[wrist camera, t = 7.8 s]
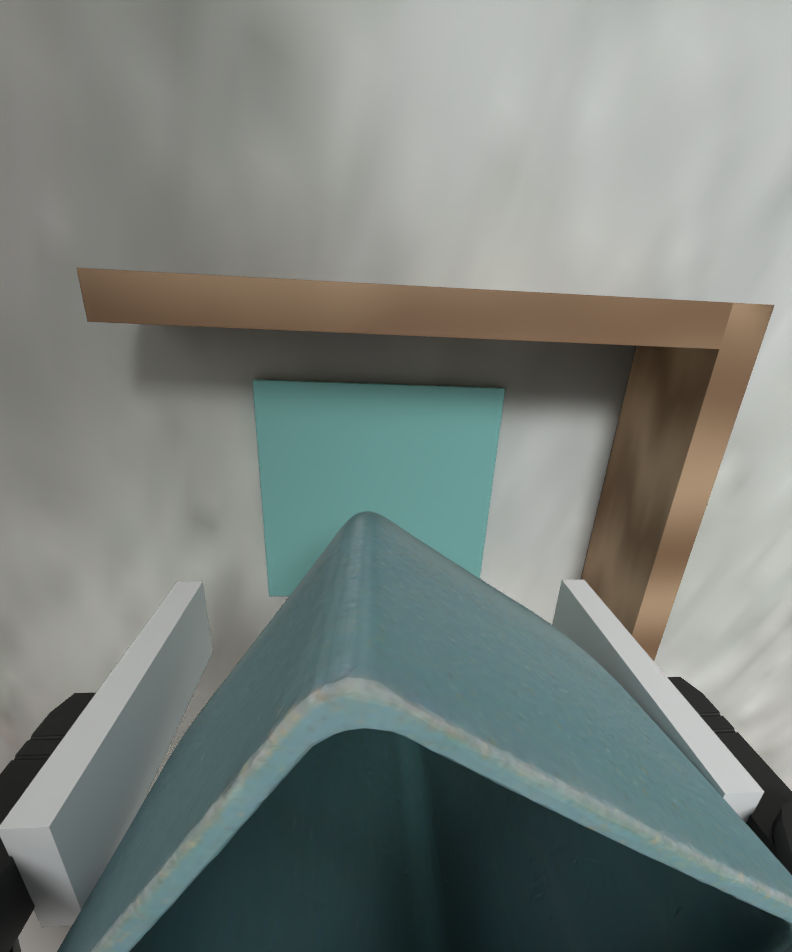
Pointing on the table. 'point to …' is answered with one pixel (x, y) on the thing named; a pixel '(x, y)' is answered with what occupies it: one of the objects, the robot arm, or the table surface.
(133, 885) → the flower pot
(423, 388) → the pad
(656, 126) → the table surface
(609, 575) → the corner arena
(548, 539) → the table surface
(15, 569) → the table surface
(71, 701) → the robot arm
